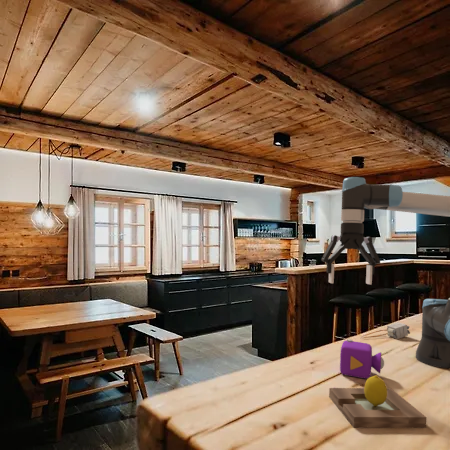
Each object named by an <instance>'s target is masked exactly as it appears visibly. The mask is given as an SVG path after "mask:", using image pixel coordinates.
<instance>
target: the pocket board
mask: <svg viewBox="0 0 450 450" xmlns="http://www.w3.org/2000/svg"><path fill="white" fill-rule="evenodd" d="M328 390H329V391H328V393H329V394H328V397H329V399H330V400H331V401H332V402H333V404H334V405H335V407H336V408H337V409H338V410H339V411H340V412H341V414H342V415H343V416H344V417H345V418H346V420H347V421H348V422H349V424H350V425H351V426H352V428H354V429H355V428H356V429H357V428H359V429H360V428H361V429H362V428H365V429H366V428H367V429H372V428H373V429H377V428H379V429H382V428H384V429H385V428H386V429H389V428H391V429H392V428H393V429H394V428H395V429H397V428H398V429H399V428H401V429H405V428H408V429H410V428H411V429H412V428H413V429H417V428H419V429H423V428H424V429H425V428H427V416H426V415H424V414H423V413H422V412H421V411H419V410H418V409H417V408H416V407H415V406H414V405H413V404H411V403H410V402H408V401H407V400H406V399H405V398H403V396H401V395H400V394H398V392H397V391H395V390H393V389H392V388H387V398H386V400H385V402H384V403H383V404H381V405H378V406H376V407H375V406H373V404H371V403H370V402H369V401H368V400H367V399H366V397H365V393H364V387H362V388H361V387H358V388H357V387H356V388H355V387H329V389H328Z"/></svg>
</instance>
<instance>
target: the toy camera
mask: <svg viewBox="0 0 450 450" xmlns="http://www.w3.org/2000/svg"><path fill="white" fill-rule="evenodd" d="M341 344H342V345H341V347H340V357H339V358H340V359H339V370H340V373H341V374H342V375H345V376H349V377H354V378H360V379H364V380H365V379H366V380H367V379H368V378H370V377H371V374H372V368H373V369H374V371H376V372H377V373H379V374H381V373H382V372H381V370H382V369H383V368H384V366H385V360H384V358H383V357H382V352H378V353H376V354H374V355H373V348H372V346H371V344H369V343H366V342H360V341H353V339H350V338H348V339H346V340H344V341H343V342H342V343H341Z"/></svg>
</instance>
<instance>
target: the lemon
mask: <svg viewBox="0 0 450 450" xmlns="http://www.w3.org/2000/svg"><path fill="white" fill-rule="evenodd" d="M363 388H364V393H365V397H366V399H367V400H368V401H369V402H370V403H371V404H373V406H375V407H376V406H378V405H381V404H383V403H384V402H385V400H386V398H387V389H388V387H387V385H386V382H385V381H384V380H383V379H382V378H381V377H379V376H378V375H376V374H375V375H373V376H370V377H369V378H368V379H366V381H365V384H364V387H363Z"/></svg>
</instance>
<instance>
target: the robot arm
mask: <svg viewBox="0 0 450 450" xmlns="http://www.w3.org/2000/svg"><path fill="white" fill-rule="evenodd" d="M365 209H367V210H384V211H393V212H401V213H402V212H403V213H411V214H412V213H413V214H422V215H430V216H441V217H450V195H441V194H430V193H421V192H420V193H419V192H412V191H411V192H408V191H403V189H402V186H401V185H397V184H391V183H390V184H377V183H376V184H370V183H367V182H366V179H365V177H358V176H351V177H345V178H344V179H343V181H342V190H341V215H340V216H341V217H340V218H341V219H340V220H341V223H340V235H339V236H338V235H336V234H335V235H334V234H333V235H331V237H330V242H329V244H328V246H327V248H326V250H325V252H324V254H323V255H322V257H321V262H323V263H326V273H327V274H328V283H330V284H334V279H335V263H334V261H336V259H337V258H338V257H339V256H340V255H341V254H342V252H343V251H345V250H358V252H359V253H360V254H361V255H362V257H363V258H364V259H365V261H366V262H367V263H368V264H366V274H365V275H366V276H365V284H367V285H371V286H372V283H373V282H372V281H373V275H375V270H376V269H375V267H376V266H377V265H380V264H381V259H380V257H379V255H378V253H377V250H376V248H375V245H374V243H373V237H371V236H366V237H365V236H364V231H365V229H364V227H365V226H364V223H363V222H364V221H365ZM338 242H340V244H339V245H338V246H337V248H336V250H334V249H335V247H336V245H337V243H338ZM363 242H364V243H365V246H366V247H367V250H368V251H369V252H368V251H367V250H366V249H365V247H364V245H363ZM333 251H334V252H333ZM332 252H333V253H332ZM421 309H422V311H421V313H422V316H421V317H422V319H421V338H420V341H419V343H418V346H417V348H416V350H415V358H416V360H417V361H419V362H421V363H423V364H425V365H429V366H433V367H437V368H443V369H450V297H449V298H448V299H441V298H438V299H437V298H425V299H424V300H423V302H422V307H421Z"/></svg>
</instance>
